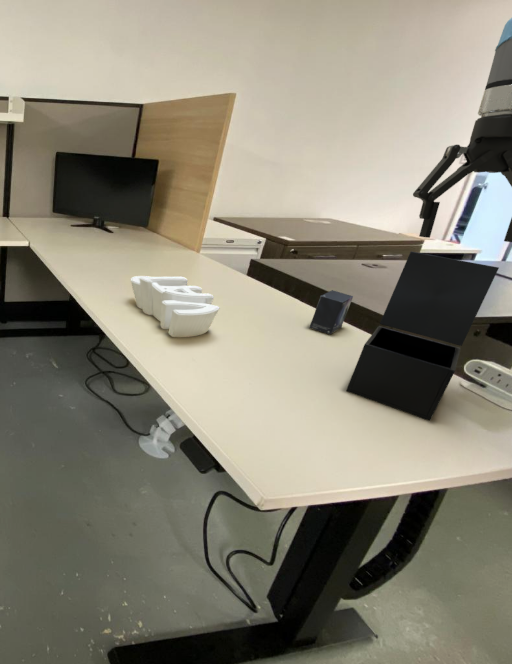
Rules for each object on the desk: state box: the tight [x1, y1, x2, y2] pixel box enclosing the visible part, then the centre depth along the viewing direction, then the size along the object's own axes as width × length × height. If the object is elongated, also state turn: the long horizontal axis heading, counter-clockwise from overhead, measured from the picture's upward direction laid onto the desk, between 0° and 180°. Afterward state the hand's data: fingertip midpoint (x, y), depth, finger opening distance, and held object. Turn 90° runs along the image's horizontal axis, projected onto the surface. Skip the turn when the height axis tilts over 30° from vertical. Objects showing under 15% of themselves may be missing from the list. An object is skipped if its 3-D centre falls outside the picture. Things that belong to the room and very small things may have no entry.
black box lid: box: [379, 251, 500, 347], centre depth 105 cm, size 18×16×1 cm
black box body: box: [345, 325, 461, 422], centre depth 104 cm, size 17×16×12 cm
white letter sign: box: [130, 275, 221, 338], centre depth 136 cm, size 35×16×11 cm, turn 11°
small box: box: [308, 289, 354, 336], centre depth 139 cm, size 11×6×10 cm, turn 134°
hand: (466, 239), depth 88 cm, fingers open, 13 cm apart
